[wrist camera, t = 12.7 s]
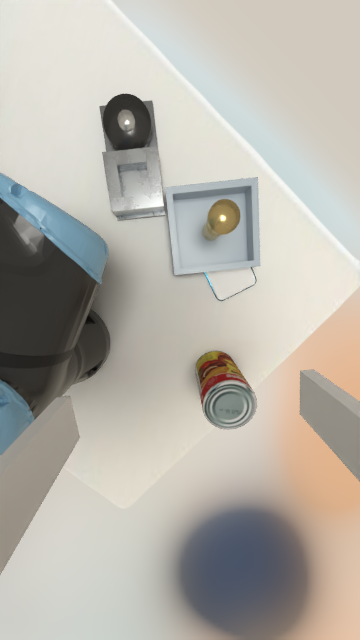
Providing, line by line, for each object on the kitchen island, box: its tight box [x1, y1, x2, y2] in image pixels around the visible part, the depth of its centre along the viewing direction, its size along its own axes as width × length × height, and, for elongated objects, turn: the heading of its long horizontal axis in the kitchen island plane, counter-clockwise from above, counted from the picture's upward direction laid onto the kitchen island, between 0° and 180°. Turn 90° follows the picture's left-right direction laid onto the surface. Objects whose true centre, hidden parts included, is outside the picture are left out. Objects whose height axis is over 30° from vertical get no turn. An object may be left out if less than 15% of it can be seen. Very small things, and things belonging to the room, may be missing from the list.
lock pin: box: [202, 199, 240, 241], centre depth 32 cm, size 4×4×10 cm
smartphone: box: [204, 267, 256, 301], centre depth 38 cm, size 8×1×16 cm
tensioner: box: [100, 94, 165, 220], centre depth 33 cm, size 16×8×4 cm, turn 6°
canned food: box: [195, 351, 257, 429], centre depth 37 cm, size 8×8×12 cm
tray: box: [165, 177, 260, 275], centre depth 36 cm, size 14×13×4 cm
